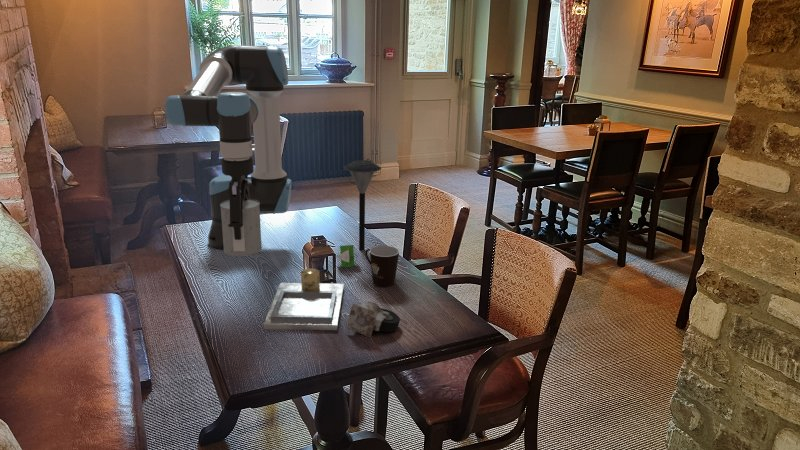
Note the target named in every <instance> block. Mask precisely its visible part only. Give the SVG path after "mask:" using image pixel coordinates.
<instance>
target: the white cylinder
mask: <svg viewBox="0 0 800 450" xmlns="http://www.w3.org/2000/svg"><path fill="white" fill-rule="evenodd" d="M259 204H260V203H259V201H257V200H254V199H248V200H243V209H242V213H243V225H244V238H245V251H234V250H233V235H232V227H229V226H228V224H230V200H226V201H224V202H222V203H221V204H220V206H221V218H222V231H223V244H224V249H223V253H224V254H226V255H228V256H232V257H247V256H253V255H255V254H258V253H259V252H260V253H261V251H262V249H263V247H262V231H261V213H260V208H259ZM234 222H237V221H234Z"/></svg>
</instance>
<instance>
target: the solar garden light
mask: <svg viewBox="0 0 800 450" xmlns="http://www.w3.org/2000/svg"><path fill="white" fill-rule="evenodd" d="M343 169H344V170H345V171H348V172H350V176H351V178H352V180H353V182H354V184H355V186H356V189H357V191H358V192H359V193H358V194H359V197H358V198H359V207H358V211H359V215H358V220H359V221H358V224H359V225H358V231H359V232H358V250H359V251H365V247H366V245H365V244H366V243H365V241H366V240H365V238H366V237H365V235H366V231H365V229H366V228H365V227H366V191H367V189H368V187H369V185H370V183H371V181H372V179H373V177H374V174H375V172H378V171H380V170H381V169H382V167H381V166H379V165H378V164H376V163H374V162H372V161H370V160H353V161H352V162H350V163H348V164H347V165H344V166H343Z"/></svg>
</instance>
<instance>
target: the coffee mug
mask: <svg viewBox="0 0 800 450" xmlns="http://www.w3.org/2000/svg"><path fill="white" fill-rule="evenodd" d="M368 253H369V254H368ZM364 255H365V258H366V260H367V262H368V264H369V265H370V267H371V268H370V269H371V276H372V284H373V285H374V286H376V287H379V288H388V287H392V286H394V285H395V282H396V276H397V274H396V273H397V269H398V262H399V255H400V249H399V248H397V247H395V246H390V245H376V246H373V247H371V248H367V249H366V250H365V253H364ZM368 255H369V256H368ZM369 257H370V258H369Z"/></svg>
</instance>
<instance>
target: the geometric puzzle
mask: <svg viewBox="0 0 800 450" xmlns="http://www.w3.org/2000/svg"><path fill="white" fill-rule="evenodd" d="M339 251H340V252H337V254H336V255H335V258H336V259H339V260H337V261H338V263H339V265H340V268H348V267H349V268H350V267H351V268H352V267H356V263H357V260H355V259H358V257H359V256H360V255H359V253H357V251H356V248H355V245H354V244H346V245H339ZM354 251H355V252H354ZM340 262H341V263H340Z"/></svg>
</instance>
